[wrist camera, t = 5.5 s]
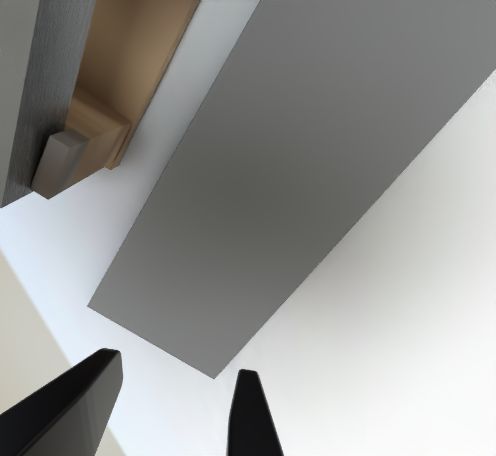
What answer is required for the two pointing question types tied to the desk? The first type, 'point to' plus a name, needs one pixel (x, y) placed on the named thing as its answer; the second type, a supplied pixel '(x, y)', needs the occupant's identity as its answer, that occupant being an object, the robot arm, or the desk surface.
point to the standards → (112, 87)
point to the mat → (289, 162)
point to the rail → (36, 82)
